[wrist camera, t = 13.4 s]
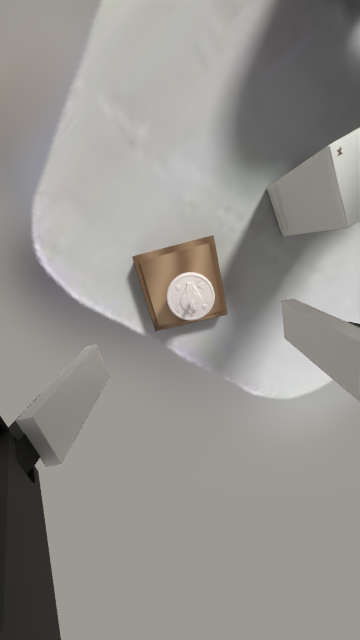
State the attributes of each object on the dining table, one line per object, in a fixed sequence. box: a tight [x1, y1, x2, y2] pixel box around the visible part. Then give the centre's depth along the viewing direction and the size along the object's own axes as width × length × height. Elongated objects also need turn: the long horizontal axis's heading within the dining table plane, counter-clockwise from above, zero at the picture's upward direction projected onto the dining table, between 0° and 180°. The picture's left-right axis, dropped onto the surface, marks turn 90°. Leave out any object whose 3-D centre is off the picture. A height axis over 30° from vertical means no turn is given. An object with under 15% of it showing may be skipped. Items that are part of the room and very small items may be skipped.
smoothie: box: [167, 272, 215, 320], centre depth 29 cm, size 6×6×14 cm
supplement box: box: [267, 128, 360, 236], centre depth 28 cm, size 9×9×15 cm
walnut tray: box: [133, 236, 227, 331], centre depth 38 cm, size 14×14×4 cm
